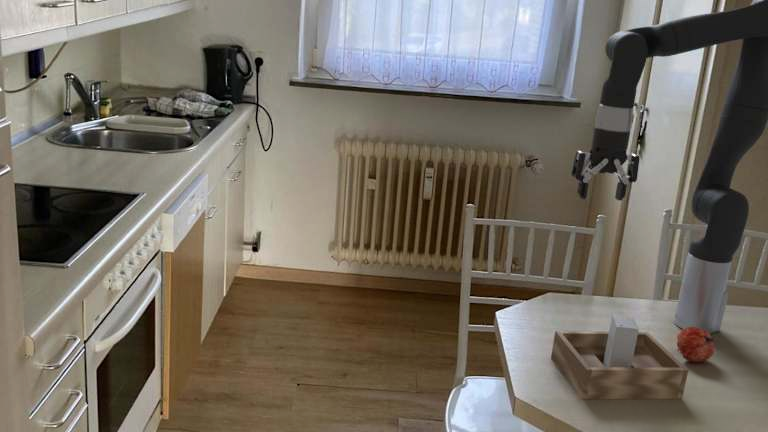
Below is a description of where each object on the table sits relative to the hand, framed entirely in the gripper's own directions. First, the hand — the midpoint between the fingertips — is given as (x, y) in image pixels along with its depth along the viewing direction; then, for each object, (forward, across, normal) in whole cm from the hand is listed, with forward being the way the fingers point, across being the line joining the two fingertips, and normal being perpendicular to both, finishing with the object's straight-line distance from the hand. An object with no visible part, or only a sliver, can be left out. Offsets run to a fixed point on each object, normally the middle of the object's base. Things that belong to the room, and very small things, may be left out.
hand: (600, 198), depth 172 cm
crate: (+28, +5, +29) cm, 41 cm away
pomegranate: (+28, -16, +21) cm, 39 cm away
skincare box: (+28, +5, +29) cm, 41 cm away
